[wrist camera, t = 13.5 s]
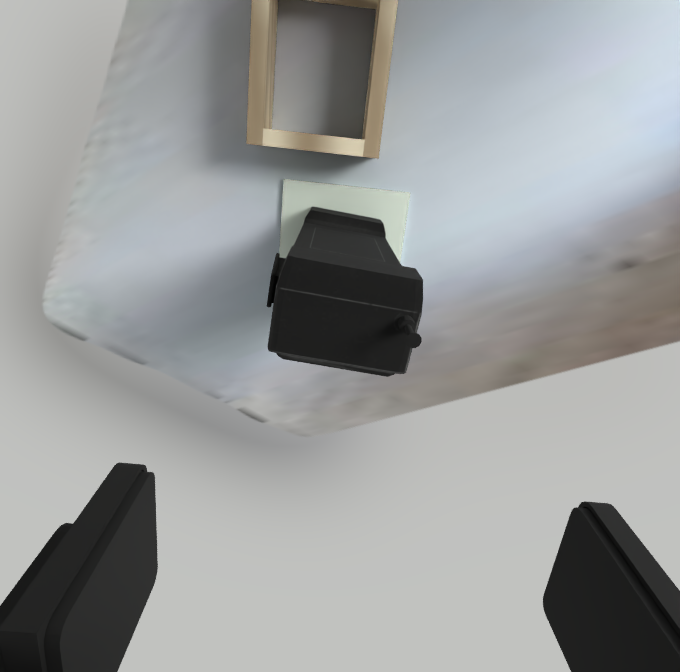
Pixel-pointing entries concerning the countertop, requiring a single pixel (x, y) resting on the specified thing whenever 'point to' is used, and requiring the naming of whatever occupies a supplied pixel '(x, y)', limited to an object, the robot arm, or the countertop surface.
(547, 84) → the countertop surface
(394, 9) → the wooden pocket
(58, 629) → the robot arm
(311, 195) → the rubber mat
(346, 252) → the portable radio
